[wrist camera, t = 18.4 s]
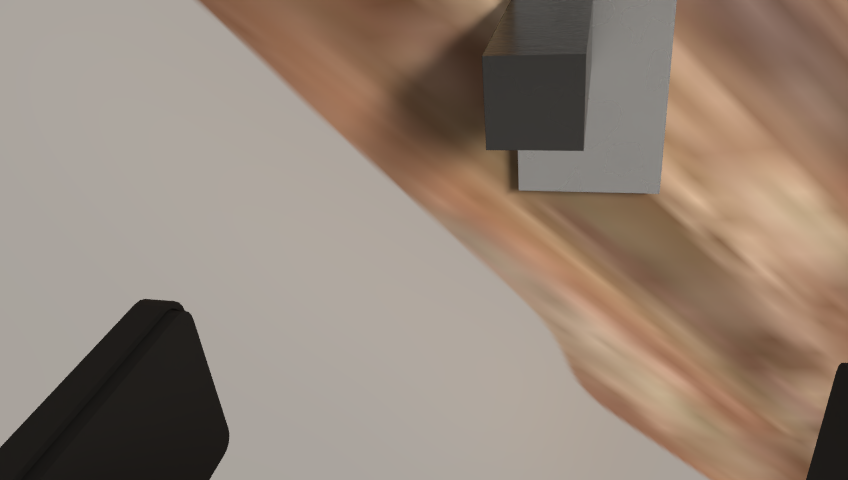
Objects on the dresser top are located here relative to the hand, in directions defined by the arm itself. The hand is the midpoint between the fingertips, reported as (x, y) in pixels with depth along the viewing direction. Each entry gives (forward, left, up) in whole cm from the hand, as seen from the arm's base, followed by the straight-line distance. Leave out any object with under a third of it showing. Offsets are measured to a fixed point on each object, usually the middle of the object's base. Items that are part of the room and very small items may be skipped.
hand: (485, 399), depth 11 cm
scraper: (0, +1, -22) cm, 22 cm away
